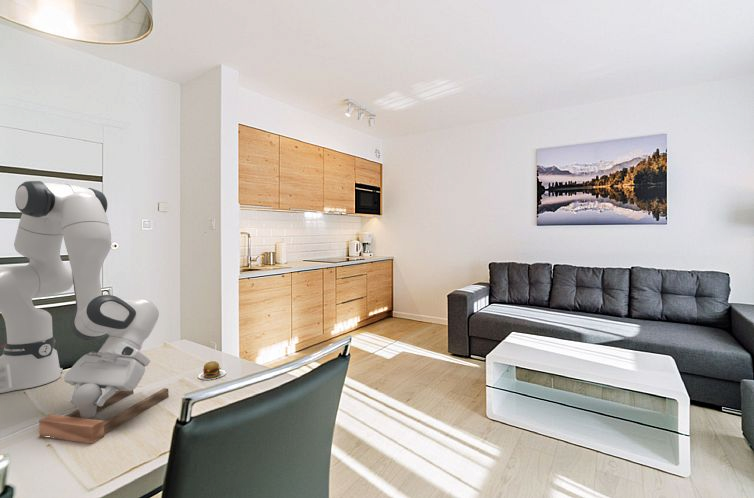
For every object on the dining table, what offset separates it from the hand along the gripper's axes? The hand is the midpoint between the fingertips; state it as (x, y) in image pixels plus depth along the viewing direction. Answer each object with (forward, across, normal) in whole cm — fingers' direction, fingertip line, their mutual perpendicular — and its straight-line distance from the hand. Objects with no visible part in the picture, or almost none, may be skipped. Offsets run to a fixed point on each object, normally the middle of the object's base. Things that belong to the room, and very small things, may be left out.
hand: (85, 404), depth 93 cm
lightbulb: (+4, 0, +5) cm, 6 cm away
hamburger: (-21, +10, +31) cm, 39 cm away
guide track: (-1, 0, +10) cm, 10 cm away
